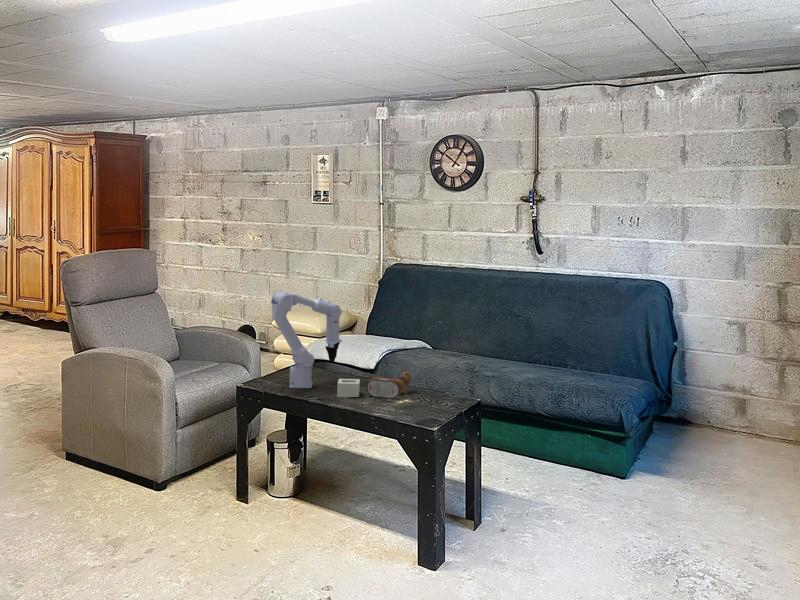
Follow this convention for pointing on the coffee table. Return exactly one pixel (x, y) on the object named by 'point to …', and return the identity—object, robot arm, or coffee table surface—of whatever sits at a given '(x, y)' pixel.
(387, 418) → the coffee table surface
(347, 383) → the box
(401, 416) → the coffee table surface
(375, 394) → the tin
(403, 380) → the lion figurine
